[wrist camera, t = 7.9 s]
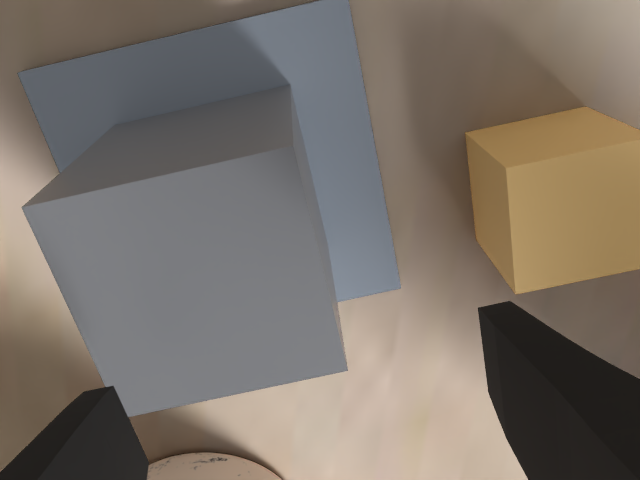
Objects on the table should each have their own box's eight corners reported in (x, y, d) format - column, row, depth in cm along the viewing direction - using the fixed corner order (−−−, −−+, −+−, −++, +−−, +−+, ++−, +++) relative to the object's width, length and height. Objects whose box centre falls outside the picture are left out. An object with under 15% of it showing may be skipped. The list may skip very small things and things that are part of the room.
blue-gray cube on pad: (290, 84, 18) (293, 145, 12) (328, 245, 20) (347, 370, 14) (114, 125, 18) (21, 207, 12) (171, 280, 20) (120, 418, 14)
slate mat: (346, -7, 17) (347, -6, 17) (399, 282, 21) (401, 288, 21) (22, 71, 18) (17, 73, 17) (136, 340, 22) (133, 346, 21)
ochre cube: (584, 105, 19) (654, 136, 16) (586, 216, 21) (650, 266, 17) (464, 131, 19) (505, 168, 16) (475, 239, 21) (515, 294, 17)
